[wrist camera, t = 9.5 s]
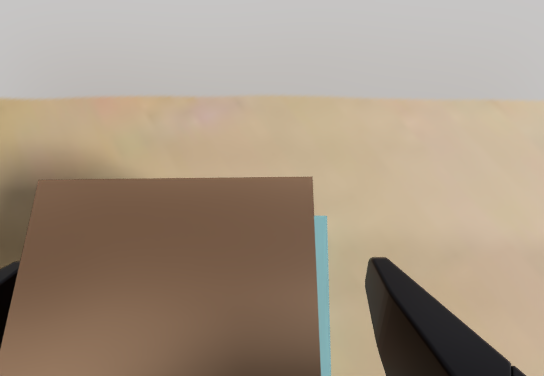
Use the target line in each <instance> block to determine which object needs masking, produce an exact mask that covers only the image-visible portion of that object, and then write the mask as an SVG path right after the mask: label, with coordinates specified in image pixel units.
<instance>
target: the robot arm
mask: <svg viewBox="0 0 544 376" xmlns="http://www.w3.org/2000/svg"><path fill="white" fill-rule="evenodd" d="M19 265H20V261H16V262H13V263H11V264H9V265H8V266H6V267H4V268H2V269H0V349H1V344H2V340H3V335H4V331H5V327H6V322H7V318H8V313H9V309H10V304H11V300H12V296H13V291H14V287H15V282H16V278H17V273H18V269H19ZM365 288H366V294H367V299H368V304H369V309H370V314H371V319H372V324H373V329H374V334H375V339H376V343H377V347H378V351H379V354H380V358H381V361H382V364H383V367H384V370H385V373H386V376H526V375H525V374H524V373H522V372H521V371H520V370H519V369H518V368H517V367H515V366H511V363H510V362H509V361H508V360H507V359H506V358H504V357H503V356H502V355H501V354H500V353H499V352H497V351H496V350H495V349H494V348H493V347H492V346H490V345H489V344H488V343H487V342H486V341H484V340H483V339H482V338H481V337H480V336H479V335H477V334H476V333H475V332H474V331H473V330H471V329H470V328H469V327H468V326H467V325H466V324H464V323H463V322H462V321H461V320H460V319H458V318H457V317H456V316H455V315H454V314H453V313H451V312H450V311H449V310H448V309H447V308H445V307H444V306H443V305H442V304H441V303H440V302H438V301H437V300H436V299H435V298H434V297H432V296H431V295H430V294H429V293H428V292H427V291H425V290H424V289H423V288H422V287H421V286H419V285H418V284H417V283H416V282H415V281H414V280H412V279H411V278H410V277H409V276H408V275H406V274H405V273H404V272H403V271H402V270H401V269H399V268H398V267H397V266H396V265H395V264H393V263H392V262H391V261H390V260H389V259H387V258H385V257H372V258H370V259H369V262H368V267H367V273H366V279H365Z"/></svg>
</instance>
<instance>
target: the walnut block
mask: <svg viewBox="0 0 544 376" xmlns="http://www.w3.org/2000/svg"><path fill="white" fill-rule="evenodd" d="M0 376H321V363H320V340H319V317H318V294H317V271H316V249H315V226H314V203H313V180H312V177H249V178H162V179H74V180H38V185H37V189H36V194H35V198H34V203H33V207H32V211H31V216H30V220H29V225H28V229H27V234H26V238H25V242H24V247H23V251H22V256H21V260H20V265H19V269H18V273H17V278H16V282H15V287H14V291H13V296H12V300H11V304H10V309H9V313H8V318H7V322H6V327H5V331H4V335H3V340H2V344H1V349H0Z"/></svg>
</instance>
